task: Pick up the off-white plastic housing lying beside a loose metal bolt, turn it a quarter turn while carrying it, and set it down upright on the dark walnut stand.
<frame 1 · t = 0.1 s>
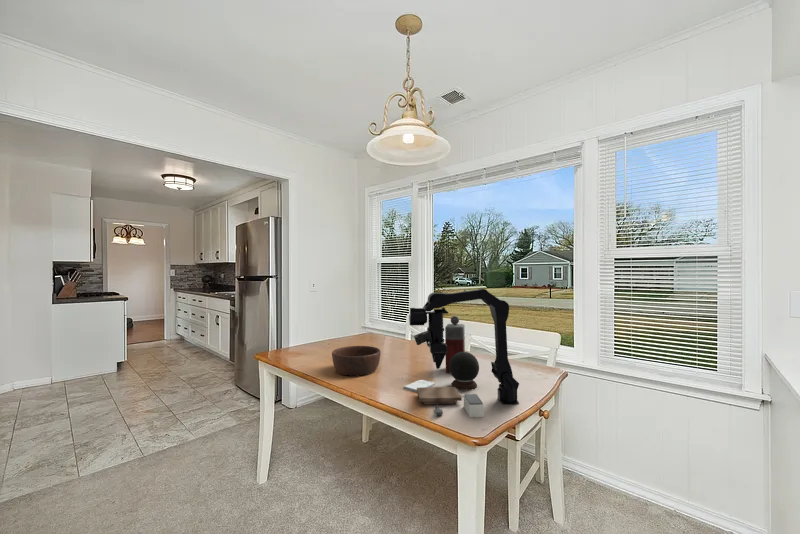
hand: (436, 365, 134), 15 cm above the table, tool pointing down, fingers open, 9 cm apart
black orb on base: (464, 386, 154), on the table
external hard drive: (419, 388, 153), on the table
housing: (473, 412, 126), on the table
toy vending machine: (455, 370, 178), on the table
wooden bowl: (356, 371, 179), on the table
bolt: (437, 412, 125), on the table
stand: (438, 399, 137), on the table
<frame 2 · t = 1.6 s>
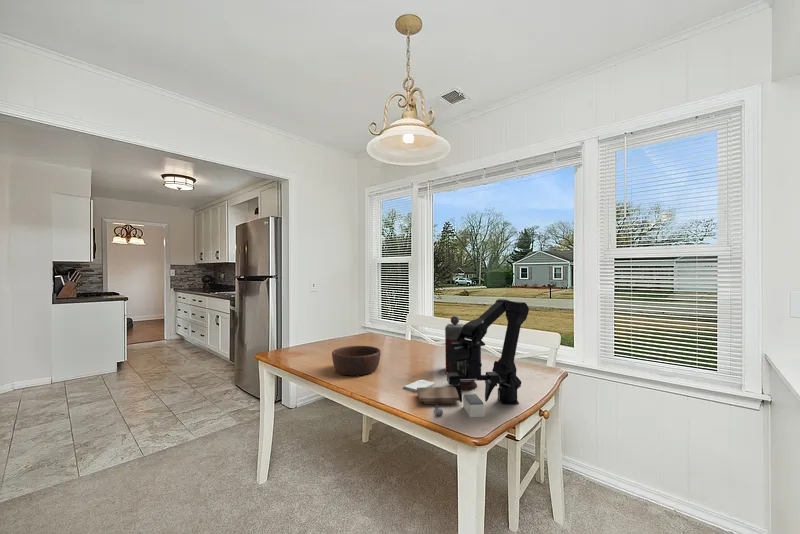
hand: (473, 401, 126), 4 cm above the table, tool pointing down, fingers open, 9 cm apart
nothing on the table moved.
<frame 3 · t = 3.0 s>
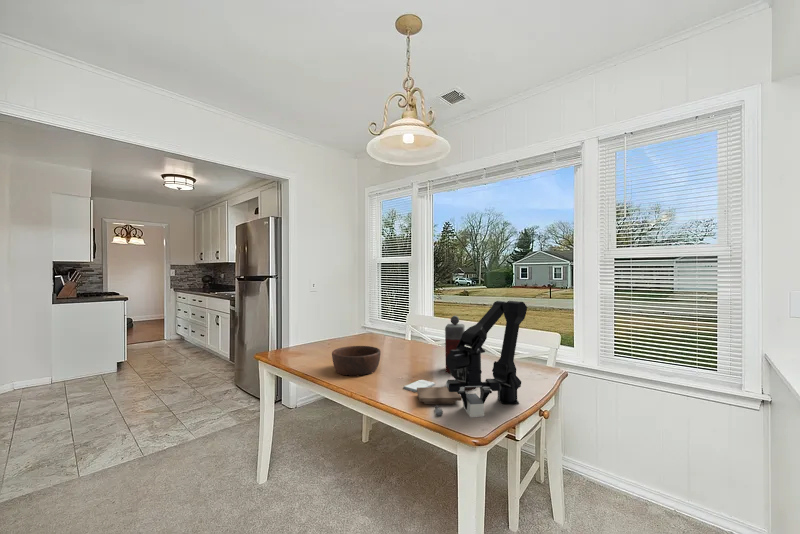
hand: (473, 408, 126), 1 cm above the table, tool pointing down, fingers closed on housing, 5 cm apart
housing: (473, 411, 126), on the table, touching gripper
everything else where it was.
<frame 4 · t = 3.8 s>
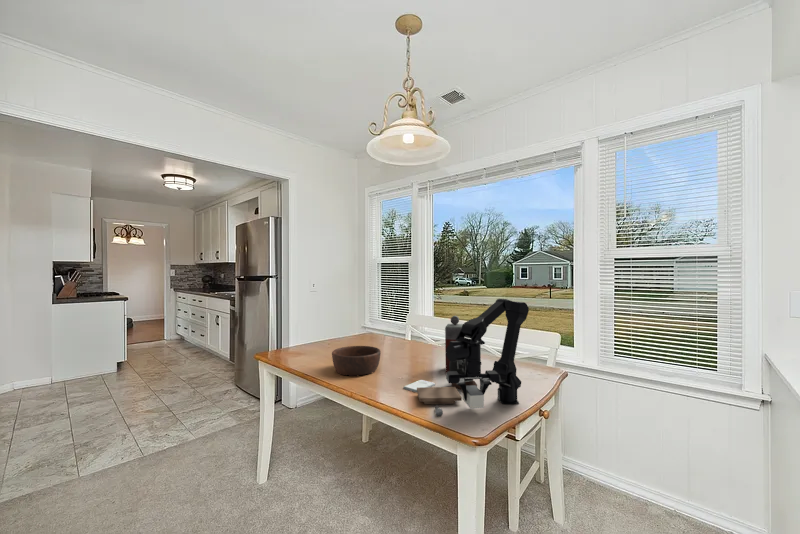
hand: (473, 400, 126), 4 cm above the table, tool pointing down, fingers closed on housing, 5 cm apart
housing: (473, 403, 126), point 3 cm above the table, touching gripper
everything else where it was.
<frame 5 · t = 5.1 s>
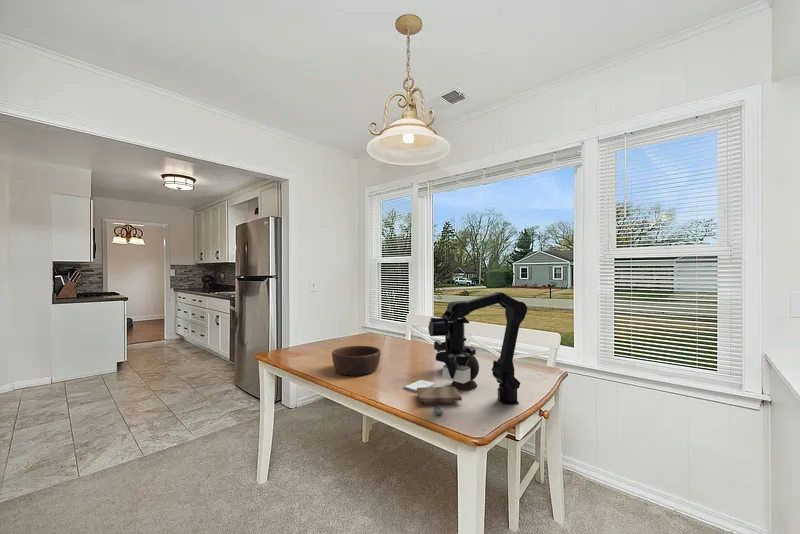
hand: (456, 376, 131), 11 cm above the table, tool pointing down, fingers closed on housing, 5 cm apart
housing: (456, 379, 131), point 10 cm above the table, touching gripper
everything else where it was.
when the fingers open (5 cm above the table, at t = 7.4 s): housing drops 1 cm, resting on stand.
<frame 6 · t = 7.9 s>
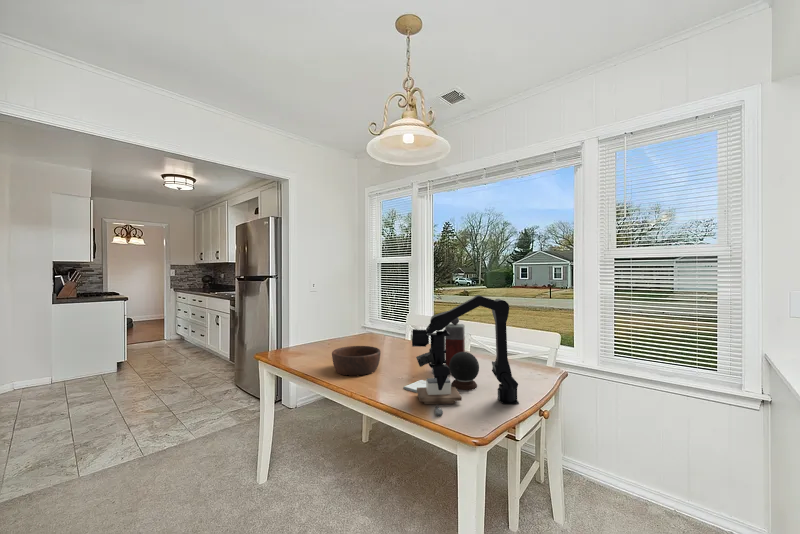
hand: (438, 386, 137), 5 cm above the table, tool pointing down, fingers open, 9 cm apart
housing: (438, 392, 137), point 3 cm above the table, touching stand
everything else where it was.
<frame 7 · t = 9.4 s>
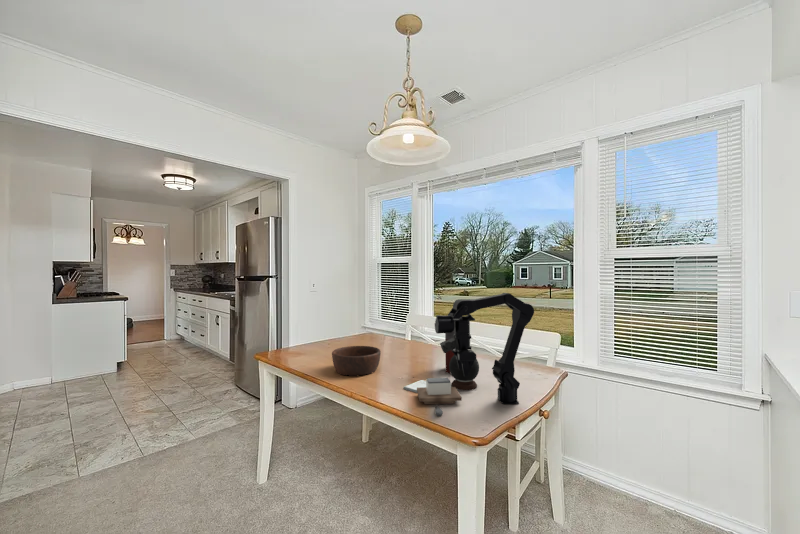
hand: (463, 373, 133), 12 cm above the table, tool pointing down, fingers open, 9 cm apart
nothing on the table moved.
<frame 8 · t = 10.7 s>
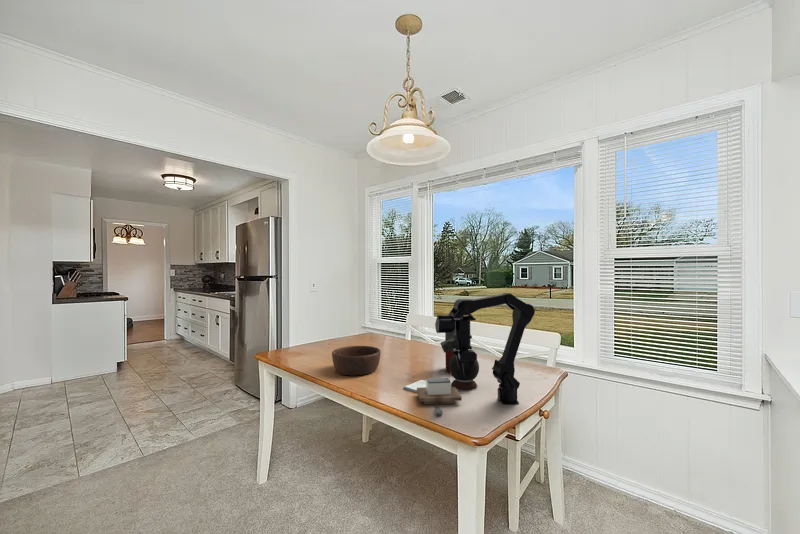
hand: (463, 372, 133), 12 cm above the table, tool pointing down, fingers open, 9 cm apart
nothing on the table moved.
at the end: housing inside the target area on the stand (0.1 cm from its centre), point 3.0 cm above the stand's base; housing tilted 0° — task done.
